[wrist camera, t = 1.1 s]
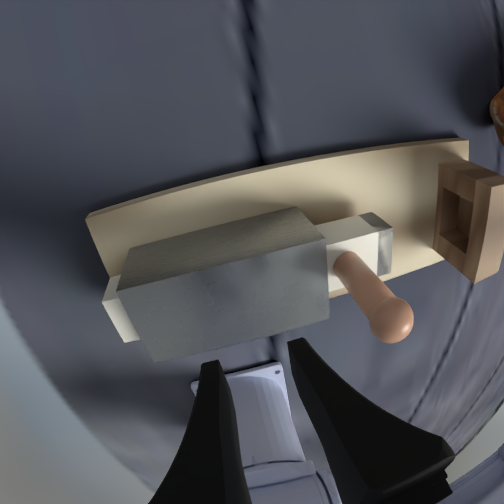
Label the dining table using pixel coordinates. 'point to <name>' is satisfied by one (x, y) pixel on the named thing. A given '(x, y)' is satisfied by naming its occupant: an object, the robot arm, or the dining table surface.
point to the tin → (498, 114)
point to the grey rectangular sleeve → (226, 284)
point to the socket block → (470, 218)
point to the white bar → (334, 277)
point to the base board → (297, 200)
